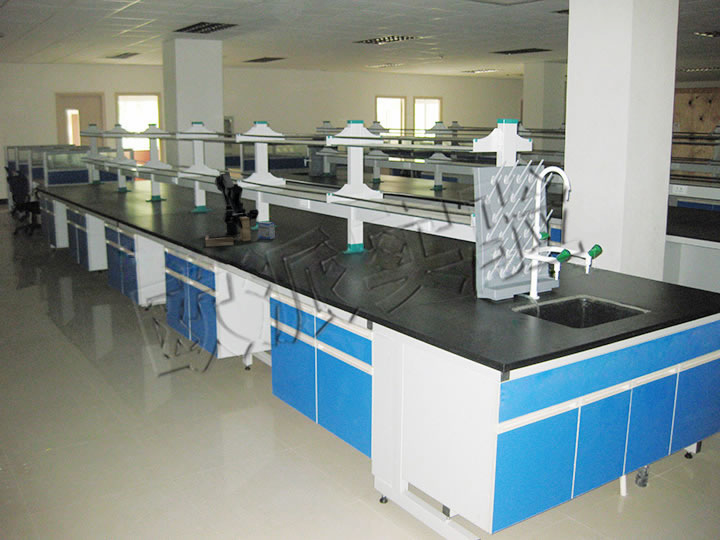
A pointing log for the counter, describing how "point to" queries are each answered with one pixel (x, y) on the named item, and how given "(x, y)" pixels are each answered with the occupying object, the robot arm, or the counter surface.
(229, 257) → the counter surface
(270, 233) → the medicine box
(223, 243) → the lock board
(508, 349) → the counter surface
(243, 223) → the oak plank block
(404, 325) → the counter surface
